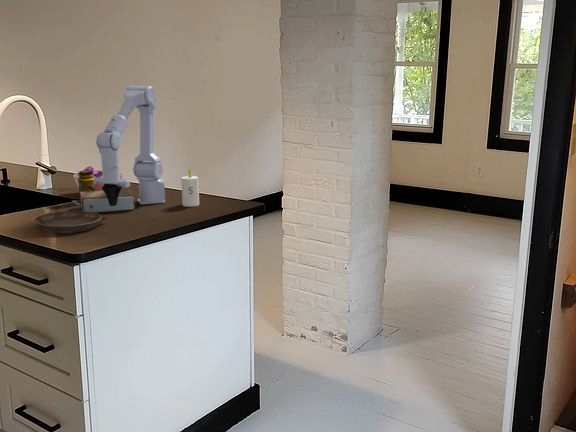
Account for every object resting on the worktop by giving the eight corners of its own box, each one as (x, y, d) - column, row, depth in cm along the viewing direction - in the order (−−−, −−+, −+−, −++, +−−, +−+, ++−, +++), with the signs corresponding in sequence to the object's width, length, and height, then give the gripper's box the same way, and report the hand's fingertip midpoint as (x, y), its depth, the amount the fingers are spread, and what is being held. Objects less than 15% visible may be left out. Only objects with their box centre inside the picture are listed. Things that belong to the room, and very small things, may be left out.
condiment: (99, 202, 233) (97, 171, 230) (77, 205, 229) (74, 173, 226) (94, 199, 239) (91, 169, 236) (72, 201, 235) (69, 170, 232)
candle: (182, 207, 227) (181, 167, 223) (182, 203, 233) (180, 164, 229) (199, 206, 228) (198, 166, 224) (198, 202, 234) (197, 164, 231)
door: (134, 208, 222) (133, 196, 221) (135, 209, 220) (134, 197, 219) (84, 212, 216) (83, 199, 215) (84, 213, 214) (83, 200, 213)
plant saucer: (101, 217, 212) (100, 208, 211) (103, 232, 193) (102, 222, 192) (37, 222, 205) (36, 212, 204) (33, 238, 186) (32, 227, 185)
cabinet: (130, 203, 232) (130, 188, 231) (134, 209, 222) (133, 194, 221) (81, 206, 226) (80, 192, 225) (82, 213, 216) (81, 198, 215)
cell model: (113, 199, 239) (111, 171, 236) (66, 197, 242) (63, 169, 240) (131, 190, 255) (129, 164, 252) (86, 188, 258) (84, 162, 256)
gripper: (86, 167, 209) (89, 205, 212) (119, 170, 203) (122, 210, 206) (100, 164, 215) (103, 201, 218) (133, 167, 209) (135, 205, 212)
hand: (113, 205), depth 213 cm, fingers closed
